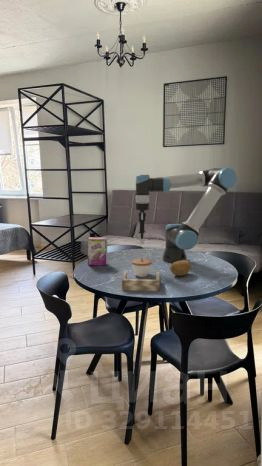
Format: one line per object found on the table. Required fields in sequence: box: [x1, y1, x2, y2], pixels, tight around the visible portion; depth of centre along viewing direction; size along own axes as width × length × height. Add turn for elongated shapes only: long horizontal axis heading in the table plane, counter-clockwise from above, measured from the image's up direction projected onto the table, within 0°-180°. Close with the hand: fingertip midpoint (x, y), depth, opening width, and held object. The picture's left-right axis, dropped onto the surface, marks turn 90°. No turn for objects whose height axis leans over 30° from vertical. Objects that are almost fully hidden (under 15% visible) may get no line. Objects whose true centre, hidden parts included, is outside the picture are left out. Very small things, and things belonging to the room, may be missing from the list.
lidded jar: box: [131, 257, 153, 278], centre depth 171 cm, size 11×11×9 cm
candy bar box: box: [87, 236, 108, 267], centre depth 191 cm, size 11×5×16 cm, turn 84°
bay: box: [121, 270, 160, 292], centre depth 156 cm, size 17×15×5 cm
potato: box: [169, 259, 192, 277], centre depth 171 cm, size 10×14×8 cm
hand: (141, 244), depth 181 cm, fingers closed
